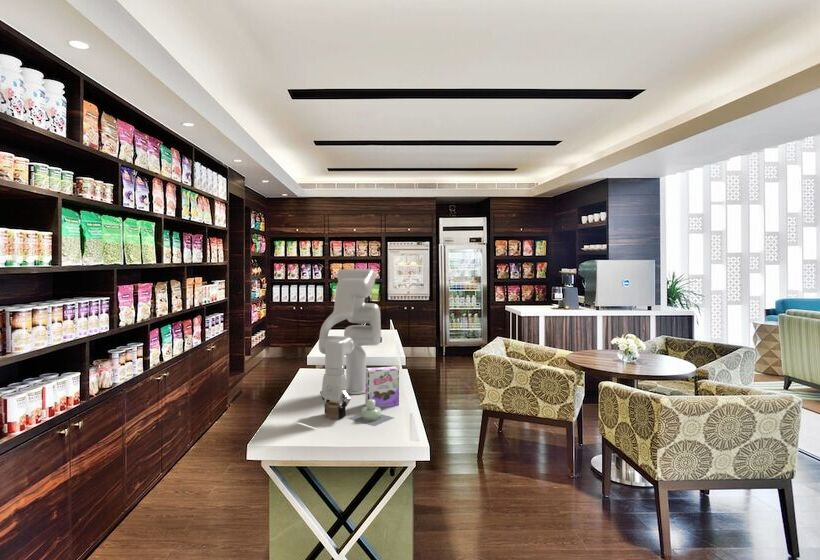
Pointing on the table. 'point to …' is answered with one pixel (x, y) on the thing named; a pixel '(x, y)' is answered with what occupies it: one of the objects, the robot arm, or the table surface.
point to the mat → (373, 423)
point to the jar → (371, 411)
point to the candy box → (382, 386)
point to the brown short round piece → (332, 410)
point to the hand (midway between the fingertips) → (334, 414)
